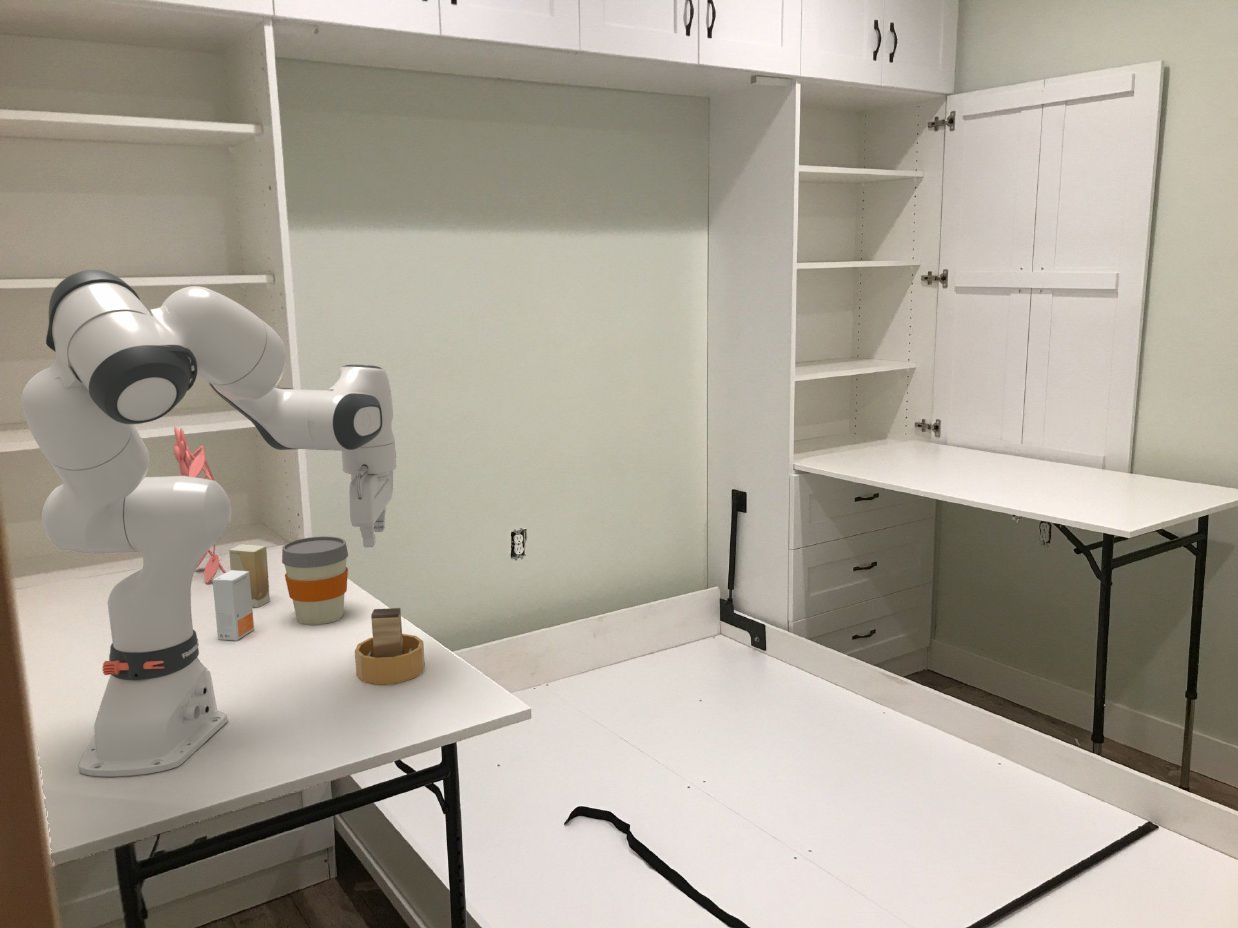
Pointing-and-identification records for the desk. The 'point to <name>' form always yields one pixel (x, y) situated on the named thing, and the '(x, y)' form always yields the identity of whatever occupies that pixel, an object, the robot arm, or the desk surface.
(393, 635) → the tall wooden block
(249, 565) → the skincare box
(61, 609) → the desk surface
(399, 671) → the bowl
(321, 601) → the reusable coffee cup
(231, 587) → the skincare box
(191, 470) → the pink branch
